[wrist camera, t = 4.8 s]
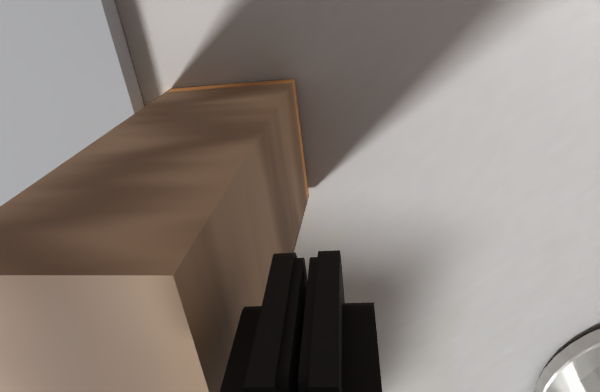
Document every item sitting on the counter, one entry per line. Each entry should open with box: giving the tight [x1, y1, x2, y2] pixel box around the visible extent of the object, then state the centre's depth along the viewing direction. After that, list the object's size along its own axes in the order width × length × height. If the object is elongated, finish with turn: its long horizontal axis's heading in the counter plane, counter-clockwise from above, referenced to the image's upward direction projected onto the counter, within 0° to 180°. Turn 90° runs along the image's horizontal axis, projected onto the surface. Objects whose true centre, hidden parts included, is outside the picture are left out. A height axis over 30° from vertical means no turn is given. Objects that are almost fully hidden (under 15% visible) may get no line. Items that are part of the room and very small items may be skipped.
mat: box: [0, 0, 145, 206], centre depth 23 cm, size 16×20×1 cm
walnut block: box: [0, 79, 309, 392], centre depth 16 cm, size 6×6×14 cm
